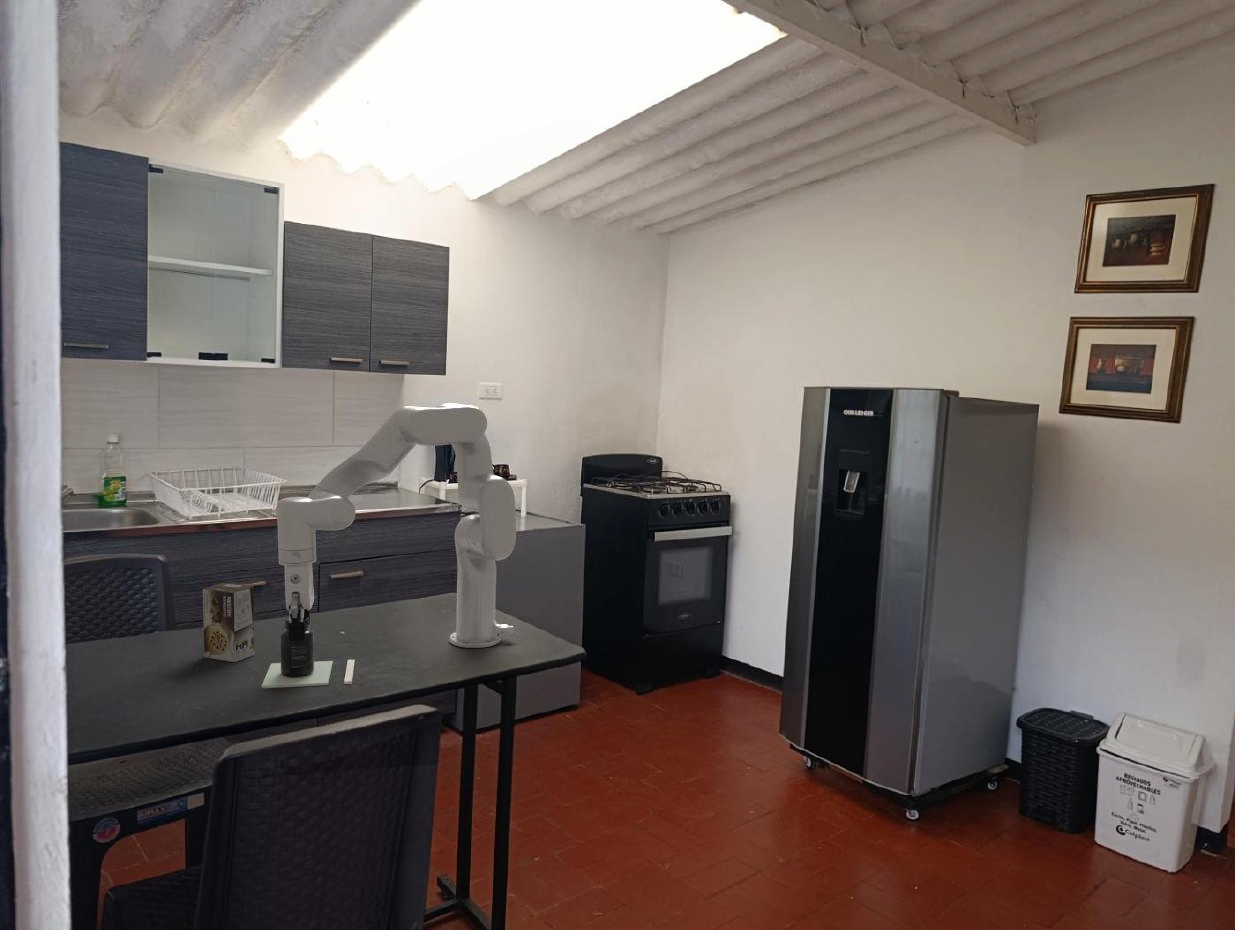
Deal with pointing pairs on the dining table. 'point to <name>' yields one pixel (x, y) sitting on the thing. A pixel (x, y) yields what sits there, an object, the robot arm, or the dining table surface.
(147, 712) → the dining table surface
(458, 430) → the robot arm
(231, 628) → the coffee box
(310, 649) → the supplement bottle
